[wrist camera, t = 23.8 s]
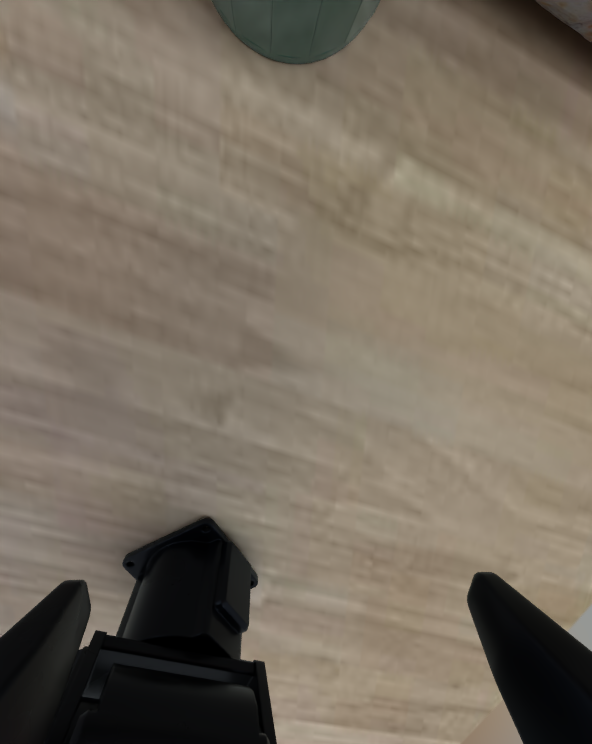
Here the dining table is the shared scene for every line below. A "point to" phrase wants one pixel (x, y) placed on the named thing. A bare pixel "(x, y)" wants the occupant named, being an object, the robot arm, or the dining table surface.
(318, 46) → the mug
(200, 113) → the dining table surface
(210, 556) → the robot arm
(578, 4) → the food item
